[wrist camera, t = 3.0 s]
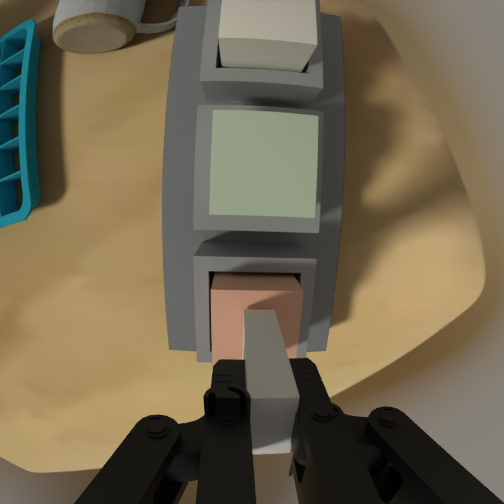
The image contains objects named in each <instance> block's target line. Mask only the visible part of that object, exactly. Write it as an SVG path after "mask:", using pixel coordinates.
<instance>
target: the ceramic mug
mask: <svg viewBox="0 0 504 504" xmlns="http://www.w3.org/2000/svg"><path fill="white" fill-rule="evenodd" d="M145 3H146V0H59V4H58V7H57V10H56V13H55V17H54V21H53V34H52V36H53V40H54V42H55V44H56V45H57V46H58V47H60V48H61V49H63V50H65V51H68V52H72V53H79V54H97V53H105V52H109V51H113V50H116V49H119V48H121V47H123V46H124V45H126V44H128V43H129V42H130V41H131V40H132V39H133V38H134V36H135V34H136V33H145V34H152V33H159V32H163V31H167V30H169V29H171V28H173V27H175V26H176V23H177V17H178V11H179V7H186V6H189V4H190V0H180V4H179V7H178V10H177V12H176V13H175V14H174V15H173V18H172V19H171V20H170V21H167V22H163V23H154V24H149V23H145V24H143V23H140V22H141V19H142V15H143V12H144V9H145Z"/></svg>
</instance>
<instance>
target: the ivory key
mask: <svg viewBox="0 0 504 504" xmlns="http://www.w3.org/2000/svg"><path fill="white" fill-rule="evenodd" d="M218 40H219V48H220V56H221V64H222V68H245V69H265V70H279V71H289V72H299V73H301V72H302V70H303V68H304V66H305V65H306V63H307V61H308V60H309V58H310V56H311V55H312V53H313V51H314V50H315V48H316V46H317V25H316V8H315V0H222V4H221V14H220V24H219V34H218Z"/></svg>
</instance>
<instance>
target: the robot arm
mask: <svg viewBox="0 0 504 504" xmlns="http://www.w3.org/2000/svg"><path fill="white" fill-rule="evenodd" d="M203 398H204V411H205V415H204V416H202V417H201V418H200V419H198V420H195V421H192V422H188V423H181V424H178V423H177V422H176V421H175V420H174V419H172V418H170V417H168V416H165V415H149V416H147V417H144V418H142V419H141V420H140V421H139V422H137V423H136V425H135V426H134V427H133V429H132V430H131V431H130V433H129V434H128V435H127V436H126V438H125V439H124V440H123V442H122V443H121V444H120V446H119V447H118V448H117V449H116V451H115V452H114V453H113V455H112V456H111V457H110V458H109V460H108V461H107V462H106V464H105V465H104V466H103V467H102V469H101V470H100V471H99V473H98V474H97V475H96V476H95V478H94V479H93V480H92V482H91V483H90V484H89V485H88V487H87V488H86V489H85V491H84V492H83V493H82V494H81V496H80V497H79V498H78V500H77V501H76V502H75V503H74V504H178V503H179V500H180V499H181V497H182V495H183V493H184V491H185V488H186V486H187V484H188V481H193V480H198V487H197V497H196V504H256V496H255V495H256V494H255V481H254V468H253V454H275V453H289V452H290V448H291V446H292V451H293V457H292V461H291V466H290V470H289V476H292V474H293V475H294V480H295V485H296V491H297V496H298V501H299V504H504V503H503V502H502V501H501V500H500V499H499V498H498V497H496V496H495V495H494V494H493V493H492V492H491V491H490V490H489V489H488V488H486V487H485V486H484V485H483V484H482V483H481V482H480V481H478V480H477V479H476V478H475V477H474V476H473V475H472V474H471V473H470V472H468V471H467V470H466V469H465V468H464V467H463V466H462V465H461V464H460V463H458V462H457V461H456V460H455V459H454V458H453V457H452V456H451V455H450V454H448V453H447V452H446V451H445V450H444V449H443V448H442V447H441V446H439V445H438V444H437V443H436V442H435V441H434V440H433V439H432V438H431V437H429V435H427V434H426V433H425V432H424V431H423V430H422V429H421V428H420V427H419V426H417V424H415V423H414V422H413V421H412V420H411V419H410V418H409V417H408V416H407V415H406V414H405V413H403V412H402V411H400V410H399V409H396V408H393V407H379V408H376V409H374V410H373V411H372V412H371V413H370V415H369V417H358V416H350V415H346V414H344V413H343V411H342V410H341V408H340V407H338V406H337V405H335V404H333V403H331V401H330V398H329V396H328V394H327V391H326V389H325V386H324V384H323V381H322V380H321V377H320V374H319V372H318V369H317V367H316V365H315V364H314V363H313V362H312V361H311V360H310V359H308V358H288V354H287V351H286V347H285V344H284V341H283V337H282V334H281V330H280V327H279V323H278V320H277V316H276V313H275V309H243V347H242V360H237V359H219V360H218V361H217V362H216V364H215V365H214V366H213V373H212V383H211V388H210V389H209V390H207V391H206V392H205V395H204V397H203Z"/></svg>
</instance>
